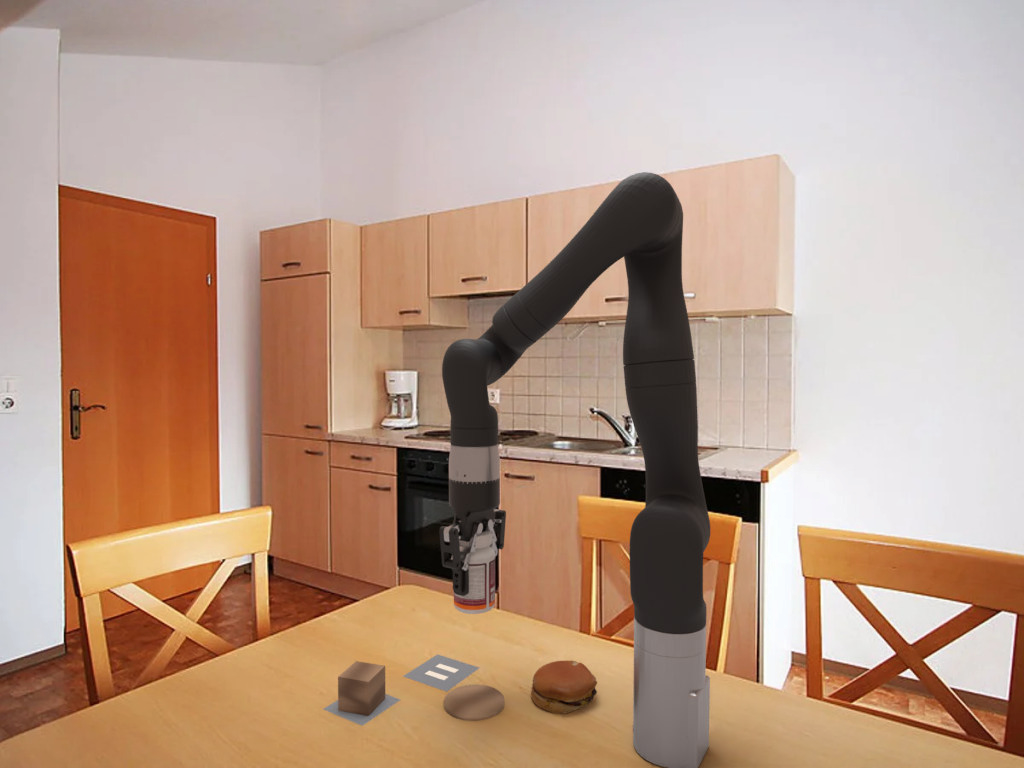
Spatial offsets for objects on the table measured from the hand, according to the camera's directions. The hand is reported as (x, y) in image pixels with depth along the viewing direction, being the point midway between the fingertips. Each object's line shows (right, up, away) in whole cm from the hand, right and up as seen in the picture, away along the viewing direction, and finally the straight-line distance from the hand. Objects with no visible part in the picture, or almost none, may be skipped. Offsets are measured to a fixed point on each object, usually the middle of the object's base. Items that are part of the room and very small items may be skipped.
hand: (474, 586), depth 94 cm
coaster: (0, -18, +1) cm, 18 cm away
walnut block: (-17, -18, 0) cm, 24 cm away
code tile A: (-6, -17, +10) cm, 21 cm away
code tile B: (-17, -18, 0) cm, 24 cm away
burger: (+13, -18, +3) cm, 23 cm away
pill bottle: (0, -3, 0) cm, 3 cm away
